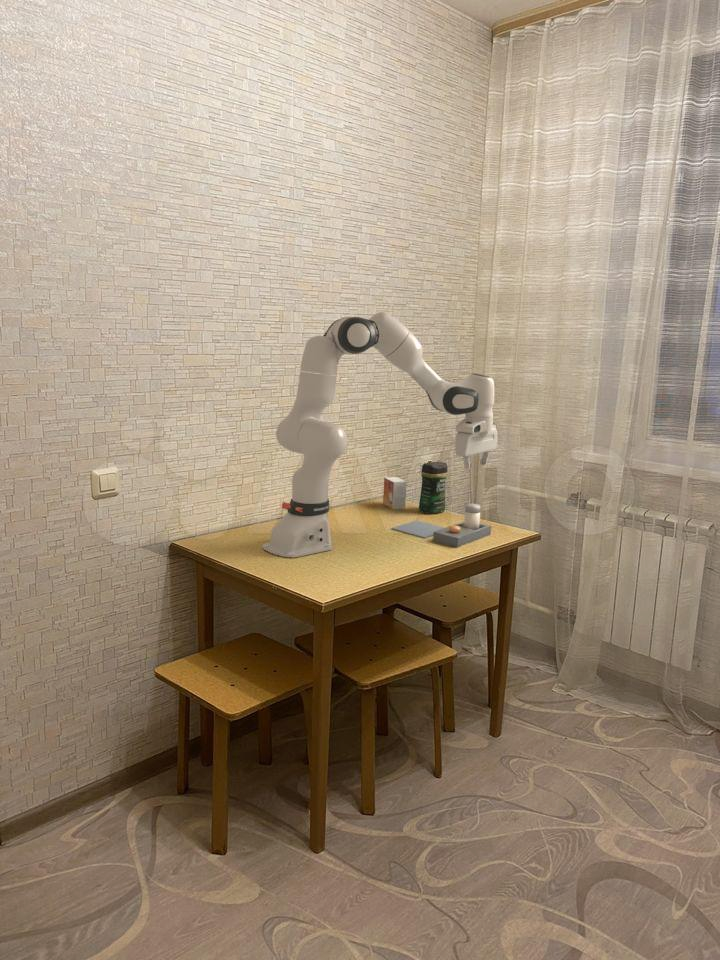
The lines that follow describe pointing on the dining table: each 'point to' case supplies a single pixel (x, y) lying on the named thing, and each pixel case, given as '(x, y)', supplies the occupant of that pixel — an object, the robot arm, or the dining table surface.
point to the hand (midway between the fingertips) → (475, 466)
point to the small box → (394, 492)
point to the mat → (418, 528)
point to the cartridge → (472, 516)
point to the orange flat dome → (454, 529)
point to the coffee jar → (433, 487)
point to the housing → (461, 535)
